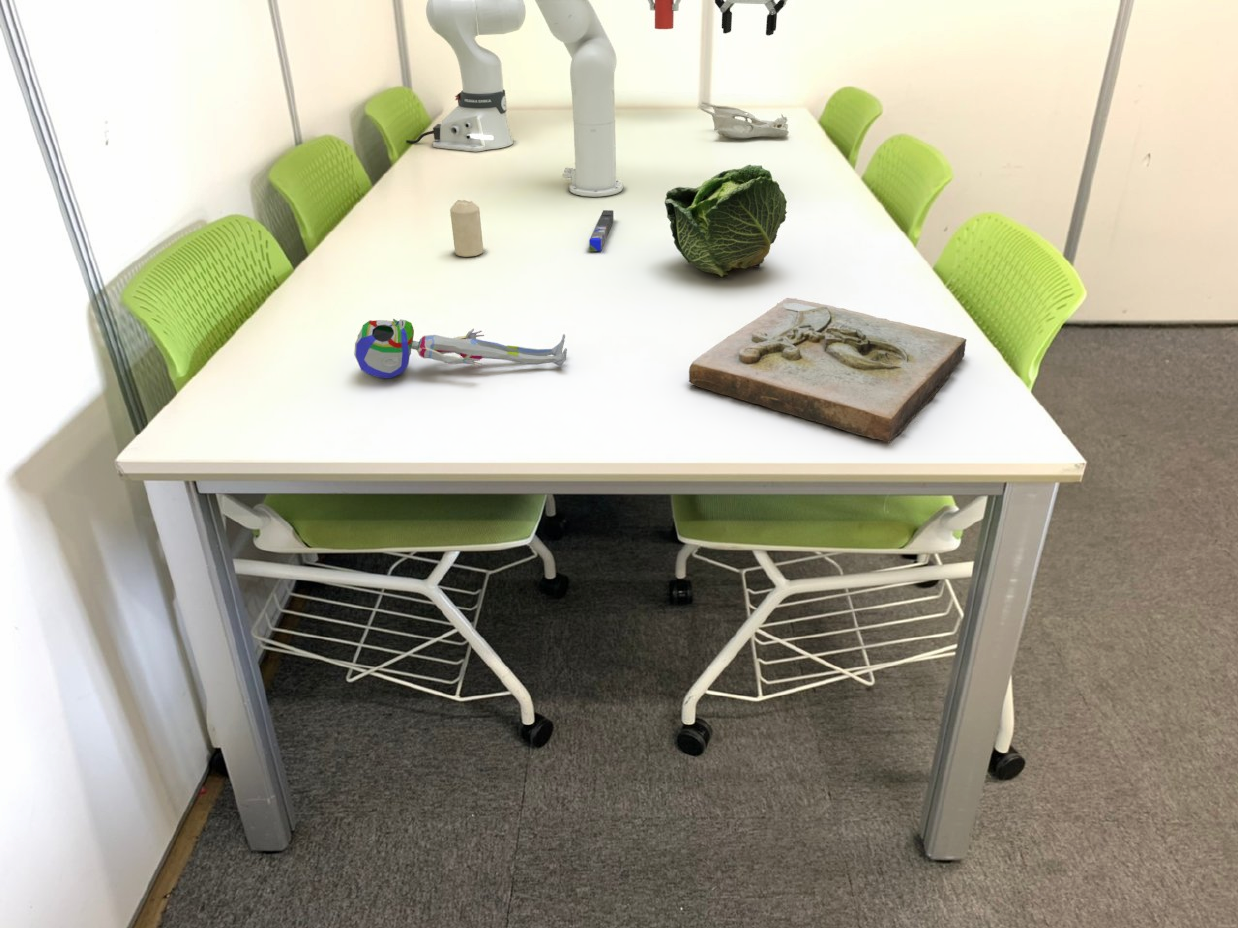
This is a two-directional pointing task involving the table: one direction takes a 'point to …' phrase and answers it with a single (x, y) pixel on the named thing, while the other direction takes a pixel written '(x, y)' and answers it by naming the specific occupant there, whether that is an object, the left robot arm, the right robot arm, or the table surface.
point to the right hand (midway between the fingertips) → (748, 33)
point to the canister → (664, 14)
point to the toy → (435, 349)
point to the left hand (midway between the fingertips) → (663, 10)
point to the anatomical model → (744, 123)
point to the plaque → (832, 366)
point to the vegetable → (727, 219)
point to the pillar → (601, 230)
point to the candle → (466, 228)
